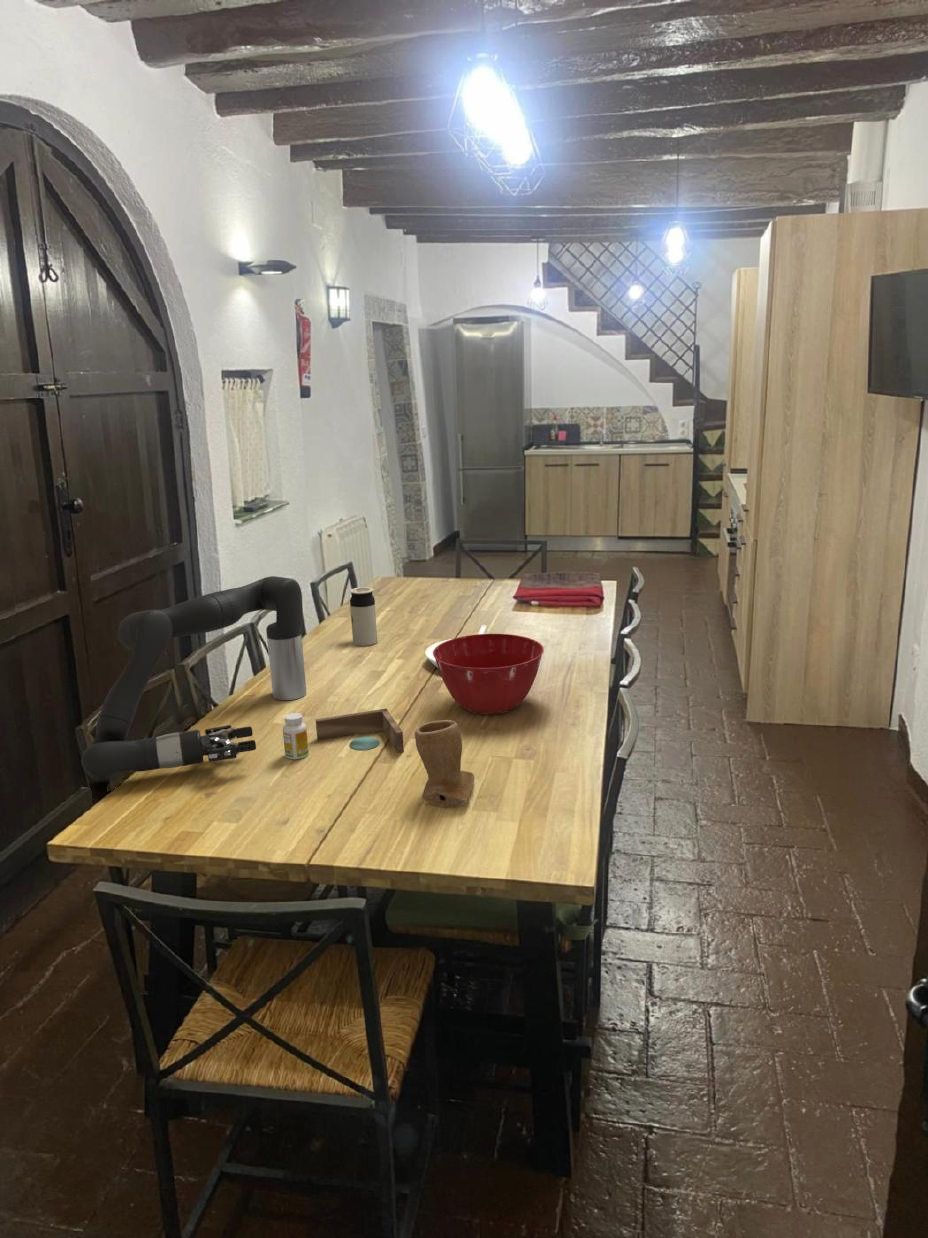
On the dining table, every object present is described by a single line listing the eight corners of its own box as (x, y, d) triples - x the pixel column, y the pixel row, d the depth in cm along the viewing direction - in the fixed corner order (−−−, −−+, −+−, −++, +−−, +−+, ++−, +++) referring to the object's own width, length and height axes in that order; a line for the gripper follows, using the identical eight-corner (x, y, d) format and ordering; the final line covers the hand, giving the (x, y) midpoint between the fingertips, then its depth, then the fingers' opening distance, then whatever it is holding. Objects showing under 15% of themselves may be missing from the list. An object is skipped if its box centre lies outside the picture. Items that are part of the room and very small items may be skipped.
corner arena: (317, 738, 217) (315, 719, 215) (387, 727, 222) (386, 708, 220) (328, 764, 202) (327, 743, 201) (403, 751, 207) (402, 731, 206)
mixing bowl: (537, 728, 218) (536, 668, 214) (424, 723, 223) (420, 664, 219) (550, 688, 244) (549, 634, 240) (448, 685, 250) (446, 632, 246)
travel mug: (379, 639, 296) (376, 586, 291) (374, 646, 289) (371, 592, 284) (355, 639, 297) (352, 586, 292) (350, 646, 289) (346, 592, 285)
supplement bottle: (310, 750, 210) (306, 711, 208) (307, 759, 205) (303, 719, 202) (287, 751, 210) (283, 712, 207) (283, 760, 205) (279, 721, 202)
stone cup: (424, 776, 194) (421, 711, 190) (479, 779, 192) (476, 713, 188) (408, 809, 180) (404, 739, 176) (466, 812, 178) (463, 742, 174)
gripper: (178, 745, 191) (255, 733, 196) (176, 722, 204) (249, 711, 209) (182, 777, 193) (258, 765, 198) (181, 752, 206) (252, 741, 211)
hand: (253, 737), depth 203 cm, fingers open, 8 cm apart
